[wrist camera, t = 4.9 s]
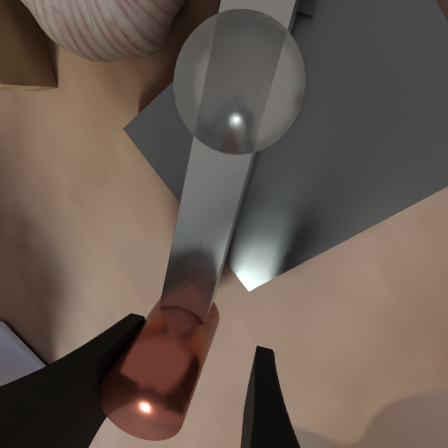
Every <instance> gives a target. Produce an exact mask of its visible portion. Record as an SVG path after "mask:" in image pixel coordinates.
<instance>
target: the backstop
mask: <svg viewBox="0 0 448 448" xmlns="http://www.w3.org/2000/svg"><path fill="white" fill-rule="evenodd" d="M51 88H58V87H57V84H56V80H55V76H54V72H53V69H52V65H51V61H50V57H49V54H48V50H47V46H46V43H45V39H44V35H43V31H42V28H41V27H40V25H39V24H38V22H37V21H36V19H35V18H34V16H33V15H32V13H31V12H30V10H29V9H28V8H27V7H26V6H25V5H24V3H23V2H22V1H21V0H0V90H24V91H38V90H45V89H51Z"/></svg>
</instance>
